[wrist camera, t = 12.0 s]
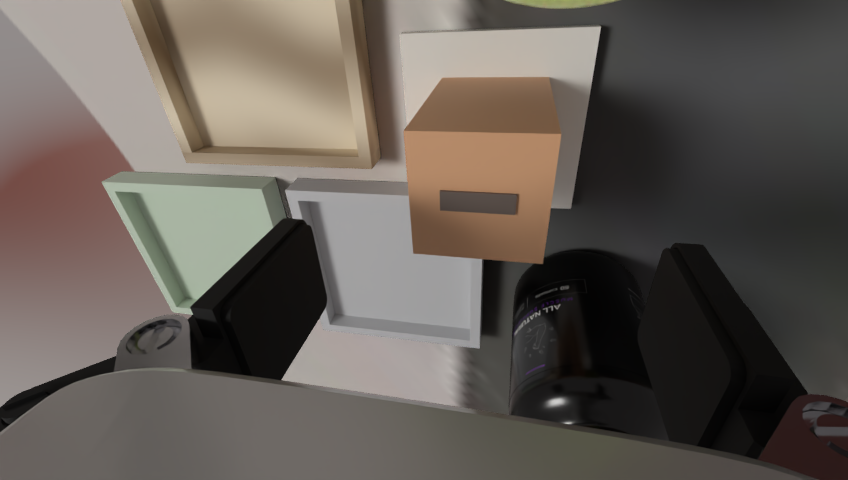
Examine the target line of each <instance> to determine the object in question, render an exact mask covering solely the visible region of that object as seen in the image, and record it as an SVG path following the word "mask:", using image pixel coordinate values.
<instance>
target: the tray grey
mask: <svg viewBox="0 0 848 480" xmlns="http://www.w3.org/2000/svg"><path fill="white" fill-rule="evenodd" d="M285 193H286V196H287V200H288V203H289V207H290V211H291V214H292V218H293V219H303V220H304V221H305V222H306V223H307V225H310V226H311V228H312V231H313V235H314V240H315V244H316V249H317V253H318V258H319V262H320V267H321V271H322V276H323V280H324V285H325V289H326V294H327V305H326V308H325V310H324V312H323V313H322V315H321V316H320V320H321V324H322V327H323V330H327V331H336V332H344V333H353V334H361V335H369V336H378V337H386V338H395V339H403V340H412V341H420V342H429V343H437V344H446V345H454V346H462V347H471V348H479V349H480V340H481V332H482V303H483V272H484V259H474V258H462V257H449V256H437V255H425V254H413V245H412V232H411V219H410V206H409V194H408V182H382V181H356V180H330V179H304V178H297V179H296V180H295V181H294V182H293V183H292V184H291V185H290V186H289V187H288V188H287V189H286V190H285Z"/></svg>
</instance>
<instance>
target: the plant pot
mask: <svg viewBox="0 0 848 480" xmlns="http://www.w3.org/2000/svg"><path fill="white" fill-rule="evenodd" d="M505 1H508V2H511V3H515V4H520V5H526V6H532V7H538V8H549V9H570V8H582V7H590V6H596V5H602V4H607V3H611V2H615V1H619V0H505Z"/></svg>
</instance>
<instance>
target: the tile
mask: <svg viewBox="0 0 848 480" xmlns="http://www.w3.org/2000/svg"><path fill="white" fill-rule="evenodd" d="M600 30H601V26H600V25H575V26H549V27H522V28H495V29H469V30H442V31H416V32H402V33H400V34H399V35H400V47H401V59H402V72H403V84H404V97H405V109H406V121H407V125H408V124H409V123H410V121H411V120H412V119H413V117H414V116H415V114H416V113H417V112H418V110H419V109H420V108H421V106H422V105H423V103H424V102H425V101H426V99H427V98H428V96H429V95H430V94H431V92H432V91H433V90H434V88H435V87H436V85H437V84H438V83H439V81H440V80H441V79H442V78H454V77H549V80H550V84H551V89H552V93H553V98H554V102H555V107H556V111H557V116H558V120H559V125H560V129H561V141H560V148H559V155H558V162H557V169H556V176H555V183H554V190H553V197H552V204H551V208H562V209H571V205H572V199H573V193H574V187H575V181H576V175H577V169H578V163H579V157H580V151H581V145H582V139H583V133H584V127H585V121H586V115H587V109H588V103H589V97H590V91H591V85H592V78H593V72H594V66H595V60H596V54H597V48H598V42H599V36H600Z"/></svg>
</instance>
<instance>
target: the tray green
mask: <svg viewBox="0 0 848 480" xmlns="http://www.w3.org/2000/svg"><path fill="white" fill-rule="evenodd" d="M102 184H103V186H104V187H105V189H106V191H107V193H108V195H109V197H110V198H111V200H112V202H113V204H114V206H115V208H116V209H117V211H118V213H119V215H120V217H121V218H122V220H123V222H124V224H125V226H126V227H127V229H128V231H129V233H130V235H131V237H132V239H133V240H134V242H135V244H136V246H137V248H138V250H139V251H140V253H141V255H142V257H143V258H144V260H145V262H146V264H147V266H148V268H149V270H150V271H151V273H152V275H153V277H154V279H155V281H156V282H157V284H158V286H159V288H160V290H161V292H162V293H163V295H164V297H165V299H166V301H167V302H168V304H169V306H170V308H171V310H172V312H175V313H183V314H192V315H193V313H192V311H191V309H190V307H191V306H192V305H193V304H194V303H195V302H196V301H197V300H198V299H199V298H200V297H201V296H202V295H203V294H204V293H205V292H206V291H207V290H208V289H209V288H210V287H211V286H213V285H214V284H215V283H216V282H217V281H218V280H219V279H220V278H221V277H222V276H223V275H224V274H225V273H226V272H227V271H228V270H229V269H230V268H231V267H232V266H233V265H235V264H236V263H237V262H238V261H239V260H240V259H241V258H242V257H243V256H244V255H245V254H246V253H247V252H248V251H249V250H250V249H251V248H252V247H253V246H254V245H256V244H257V243H258V242H259V241H260V240H261V239H262V238H263V237H264V236H265V235H266V234H267V233H268V232H269V231H270V230H271V229H272V228H273V227H274V226H275V225H276V224H278V223H279V222H280V221H281V220H282V219H284V218H287V217H286V214H285V210H284V207H283V203H282V200H281V196H280V193H279V189H278V185H277V182H276V178H275V177H253V176H227V175H201V174H175V173H149V172H123V171H122V172H120V173H118V174H116V175H114V176H112V177H110V178H108V179H106V180H104V181H102Z"/></svg>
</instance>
